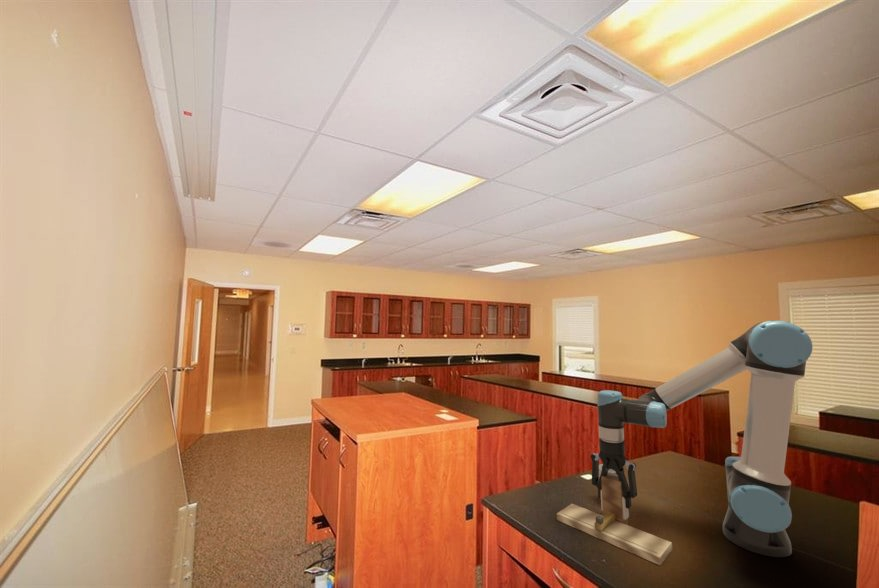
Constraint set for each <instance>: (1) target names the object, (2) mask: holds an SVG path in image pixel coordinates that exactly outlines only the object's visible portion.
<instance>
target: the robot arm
mask: <svg viewBox="0 0 879 588" xmlns="http://www.w3.org/2000/svg"><path fill="white" fill-rule="evenodd" d="M812 352H813V342H812V339H811V337H810V335H809V334H808V333H807V332H806V330H804V329H803V328H801V326H798V325H796V324H795V323H792V322H789V321H784V320H767V321H761V322H758V323H756V324H754V325H753V326H751V327H750V328H749V329H748V330H746V331H745V332H744V333H743V334H741V335H740V336H738V337H737V338H735V339H733V340H731V341H730V342H728V347H727V348H725V349H723V350H721V351H719V352H718V353H716V354H714V355H711V357H709V358H707V359H705V360H704V361H702V362H700V363H698V364H695V366H693V367H691V368H689V369H687V370H685V371H684V372H682V373H680V374H679V375H677V376H675V377H673V378H671V379H670V380H668V381H666V382H665V383H662V384H661V385H659V386H657V387H655V388H654V389H652V390H649V392H646V393H643V394H641V395H639V397H638V399H628V398H624V397H623V394H622V392H620V391H618V390H617V391H616V390H611V389H610V390H609V389H608V390H607V389H605V390H600V391H598V393H597V404H596V405H597V406H596V407H597V417H598V418H597V422H598V424H597V425H598V437H599V440H598V445H599V446H598V447H599V453H596V452H594V453H592V454H590V460H591V462H592V463H591V485H592V486H595V487H596V488H597V497H598V499H600V507H601V508H600V511H601V512H603V505H602V481H601V476H606V475H607V474H608V471H609V469H612V470H614V471H615V472H616V474H617V475H618V478H619V481H621V482H622V490H623V493H624V496H623V497H622V508H623V519H624V520H626V519H627V520H628V518H629V517H630V513H629V509H631V507H632V499H634V498H635V497H637V496H638V488H637V487H638V486H637V480H636V479H637V478H636V472H635V471H636V468H637V464H636V463H635V462H630V461H628V460H627V458H626V454H625V453H626V446H625V441H624V440H625V428H624V426H625V425H624V424H630V425H637V426H643V427H649V428H653V429H654V428H657V429H658V428H661V429H664V428H666V427H667V424H668V423H667V422H668V421H667V418H668V417H667V416H668V415H667V412H668V411H671V409H674V408H675V407H677V406H680V405H681V404H684V403H685V402H688V401H689V400H691V399H693V398H695V397H696V396H699V395H700V394H702V393H704V392H707V391H708V390H710V389H712V388H715V386H718V385H720V384H721V383H724V382H725V381H727V380H729V379H731V378H733V377H735V376H737V375H739V374H742V373H743V372H745V371H748V372H750V374H751V375H750V384H749V389H748V390H749V392H748V396H747V397H748V399H747V408H746V413H745V414H746V416H745V422H744V424H745V425H744V432H743V440H742V449H741V455H740V456H727V457H726V458H725V460H724V461H725V462H724V463H725V464H724V467H725V477H726V490H727V502H728V503H727V505H728V506H727V507H728V508H727V510H726V513H725V517H724V520H723V521H722V532H723V533H722V534H723V535H724V537H725V538H726V539H727V540H729V541H730V542H731V543H733V544H735V545H736V546H738V547H741V548H742V549H744V550H747V551H750V552H752V553H755V554H759V555H762V556H766V557H767V556H768V557H773V558H787V557H790V556H791V555H792V554H793V550H792V549H793V548H792V543H791V539H790V537H789V535H788V533H787V531H786V529H787V528H788V527H790V525H791V523H792V517H793V514H792V508H791V507H790V504H789V503H790V498H791V497H790V495H791V487H792V481H791V480H790V478H789V477H788V476H787V475H786V473H785V466H786V460H787V459H786V457H787V449H788V442H789V433H790V426H791V417H792V410H793V402H794V394H795V385H796V382H797V381H799V380H801V379H802V378H804V377H805V373H806V372H805V371H806V365H807V361H808V360H809V358H810V357H811V354H812ZM600 461H601V462H602V464H603V466H602V471H601V475H600V477H599V465H600ZM624 466H626V470H627V477H626V474H625V468H624ZM627 479H628V481H627Z"/></svg>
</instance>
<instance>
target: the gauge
mask: <svg viewBox="0 0 879 588" xmlns="http://www.w3.org/2000/svg"><path fill="white" fill-rule="evenodd" d="M601 481H602V505H603V511H602V515H603V517H601V516H596V522H595V529H598V530H600V531H602V530H603V529H604V528H606V527H607V526H608V525H609V524H610V523H612V522H613V521H614V520H615V521H618V522H621V523H623V524H626V525H628V526H629V524H628V523H629V522H628V518H627V519H626V520H624V519H623V508H622V497H623V496H624V493H623V490H622V482H621V481H619V478H618V476H614V475H611V474H607V475H606V476H601Z"/></svg>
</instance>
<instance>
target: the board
mask: <svg viewBox="0 0 879 588" xmlns="http://www.w3.org/2000/svg"><path fill="white" fill-rule="evenodd" d="M596 516H601V517H603V514H600V513H597V512H595V511H593V510H589V509H587V508H585V507H582V506H579V505H577V504H574V503H571V504H569V505H567V506H566V507H564V508H562V509H561V510H560V511H558V512H557V513H556V521H558V522H560V523H563V524H564V525H567V526H570V527H571V528H574V529H577V530H579V531H580V532H583V533H585V534H588V535H589V536H592V537H595V538H596V539H599V540H601V541H603V542H606V543H608V544H610V545H611V546H612V545H613V546H615V547H616V548H619V549H621V550H624V551H626V552H629V553H631V554H632V555H633V554H634V556H637V557H640V558H641V559H644V560H647V561H649V562H651V563H653V564H656V565H658V566H661V565H662V563H664V562H665V560H666V558H667V557H668V556H669V555H670V553H671V552H672V551H673V542H672V541H670V540H667V539H664V538H661V537H658V536H657V535H654V534H652V533H648V532H646V531H643V530H641V529H638V528H636V527H633V526H630V525H629V524H628V525H626V524H623V523H621V522H618V521H615V520H614V521H613V522H612V523H610V524H609V525H608V526H607V527H606V528H604V529H603V530H602V531H600V530H598V529H595V522H596Z"/></svg>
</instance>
